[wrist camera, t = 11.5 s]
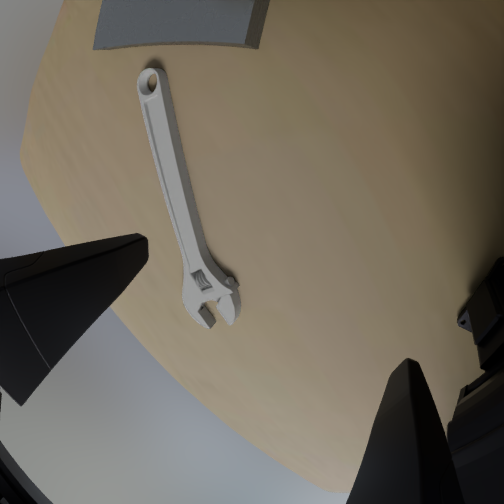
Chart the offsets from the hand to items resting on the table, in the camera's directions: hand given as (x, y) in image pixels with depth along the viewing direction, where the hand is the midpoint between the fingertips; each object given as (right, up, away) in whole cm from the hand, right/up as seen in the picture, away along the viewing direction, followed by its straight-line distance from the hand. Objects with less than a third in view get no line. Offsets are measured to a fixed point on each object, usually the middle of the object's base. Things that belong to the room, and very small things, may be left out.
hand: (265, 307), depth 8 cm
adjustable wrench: (-5, +5, +16) cm, 18 cm away
